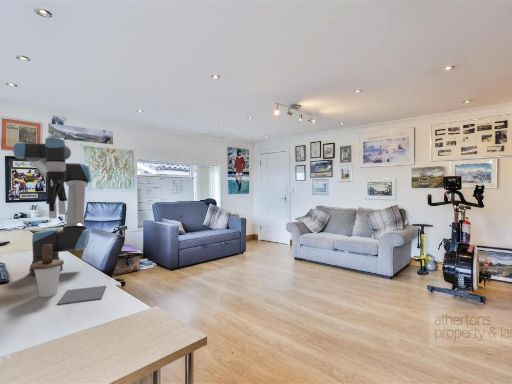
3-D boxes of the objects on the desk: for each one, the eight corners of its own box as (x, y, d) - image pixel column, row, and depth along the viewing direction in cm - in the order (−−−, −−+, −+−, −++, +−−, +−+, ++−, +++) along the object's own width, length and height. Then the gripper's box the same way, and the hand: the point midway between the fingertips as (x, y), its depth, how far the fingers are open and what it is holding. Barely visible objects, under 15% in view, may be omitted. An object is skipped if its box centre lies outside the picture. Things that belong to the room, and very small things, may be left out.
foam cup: (47, 299, 122) (46, 268, 122) (29, 297, 124) (28, 267, 123) (66, 290, 131) (65, 262, 131) (49, 289, 133) (48, 261, 133)
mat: (67, 291, 131) (67, 290, 131) (106, 286, 137) (106, 285, 137) (56, 305, 116) (56, 303, 116) (101, 299, 122) (101, 298, 122)
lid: (35, 263, 131) (35, 243, 130) (66, 260, 135) (66, 241, 135) (25, 270, 119) (25, 249, 119) (59, 267, 124) (59, 246, 124)
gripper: (55, 171, 145) (56, 213, 146) (36, 170, 121) (38, 220, 122) (72, 171, 147) (74, 212, 148) (57, 170, 124) (58, 219, 125)
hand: (57, 216), depth 135 cm, fingers open, 13 cm apart
